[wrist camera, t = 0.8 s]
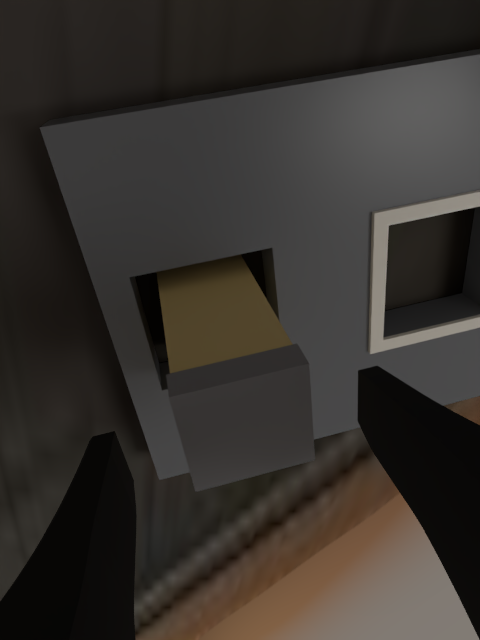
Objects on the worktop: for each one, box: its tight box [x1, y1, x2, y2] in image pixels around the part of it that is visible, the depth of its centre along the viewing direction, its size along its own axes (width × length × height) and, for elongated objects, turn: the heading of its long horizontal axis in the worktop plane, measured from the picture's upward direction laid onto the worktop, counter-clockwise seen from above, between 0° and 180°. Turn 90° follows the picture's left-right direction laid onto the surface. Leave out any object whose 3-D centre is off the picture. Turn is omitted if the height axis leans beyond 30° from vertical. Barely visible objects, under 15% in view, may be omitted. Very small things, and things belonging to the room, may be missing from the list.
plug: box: [157, 255, 315, 492], centre depth 16 cm, size 4×4×8 cm
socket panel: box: [40, 49, 480, 480], centre depth 19 cm, size 18×16×2 cm
